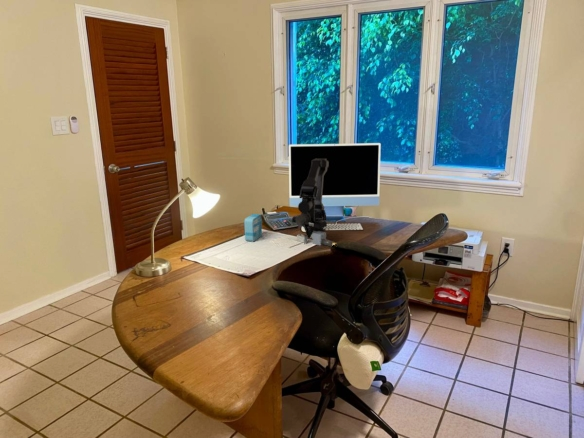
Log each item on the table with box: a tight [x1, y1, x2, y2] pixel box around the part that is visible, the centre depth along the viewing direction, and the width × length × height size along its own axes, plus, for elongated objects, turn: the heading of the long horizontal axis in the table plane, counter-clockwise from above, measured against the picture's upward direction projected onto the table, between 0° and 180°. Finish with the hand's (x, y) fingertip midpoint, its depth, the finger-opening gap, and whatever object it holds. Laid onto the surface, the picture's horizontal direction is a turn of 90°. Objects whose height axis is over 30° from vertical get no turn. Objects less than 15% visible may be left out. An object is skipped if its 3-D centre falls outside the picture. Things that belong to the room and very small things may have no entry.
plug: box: [312, 231, 337, 248], centre depth 214 cm, size 4×13×6 cm, turn 48°
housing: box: [296, 231, 317, 245], centre depth 221 cm, size 12×5×4 cm, turn 138°
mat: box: [269, 236, 303, 249], centre depth 218 cm, size 9×14×1 cm, turn 48°
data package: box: [244, 213, 263, 242], centre depth 224 cm, size 12×4×12 cm, turn 162°
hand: (309, 237), depth 221 cm, fingers closed
